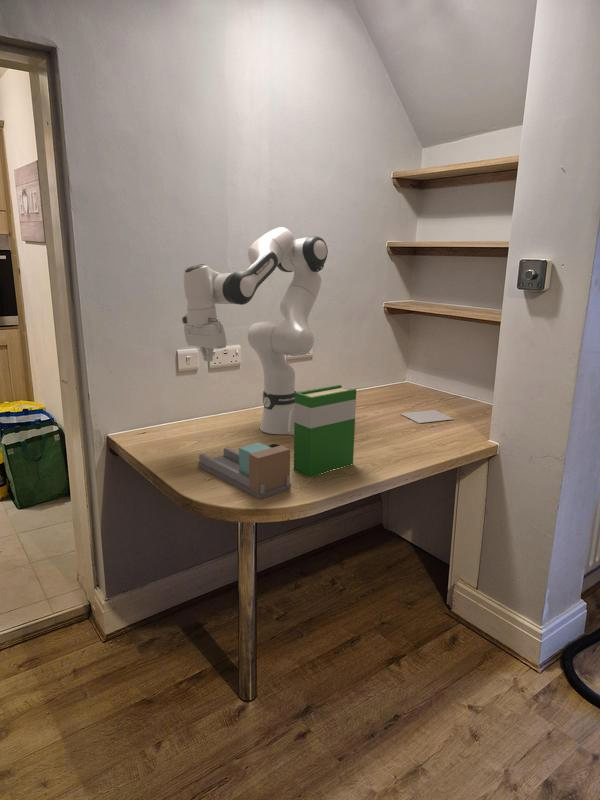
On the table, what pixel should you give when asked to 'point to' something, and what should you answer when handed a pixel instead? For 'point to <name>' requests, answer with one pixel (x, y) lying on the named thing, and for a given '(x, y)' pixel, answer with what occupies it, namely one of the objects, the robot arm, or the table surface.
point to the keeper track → (252, 470)
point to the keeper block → (244, 456)
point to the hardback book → (324, 429)
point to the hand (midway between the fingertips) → (208, 360)
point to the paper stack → (426, 416)
